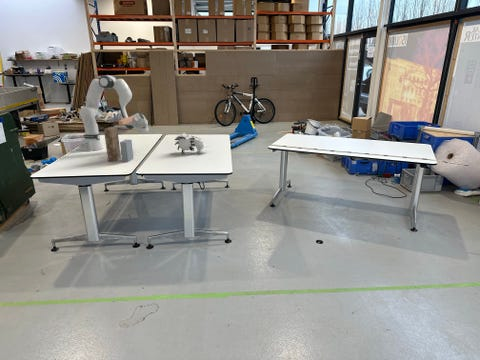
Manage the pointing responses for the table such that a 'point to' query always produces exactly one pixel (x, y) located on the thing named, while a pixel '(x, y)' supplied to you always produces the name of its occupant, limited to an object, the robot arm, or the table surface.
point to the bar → (126, 120)
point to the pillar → (112, 144)
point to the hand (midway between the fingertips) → (131, 118)
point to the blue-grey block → (126, 150)
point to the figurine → (190, 143)
